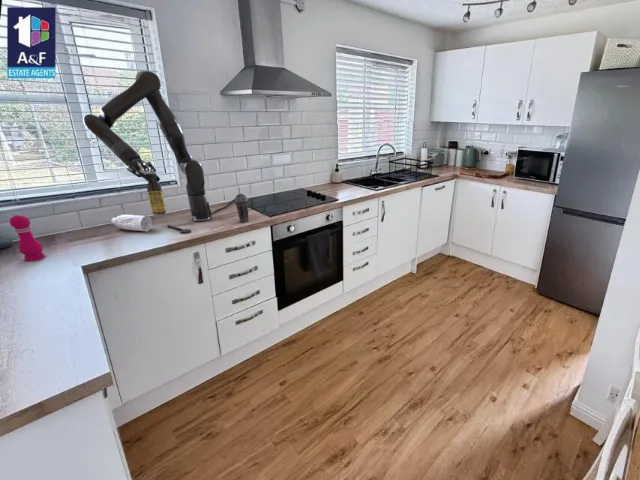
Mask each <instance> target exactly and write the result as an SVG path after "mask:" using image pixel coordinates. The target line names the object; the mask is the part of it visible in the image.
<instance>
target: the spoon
mask: <svg viewBox="0 0 640 480" xmlns="http://www.w3.org/2000/svg"><path fill="white" fill-rule="evenodd" d="M167 228H169V229H174V230H176V231H179V233H180V234H183V235H184V234H189V233H191V232H192V231H191V229H189V228H181V227H178V226H174V225H171V224H167Z"/></svg>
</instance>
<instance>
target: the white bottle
mask: <svg viewBox="0 0 640 480" xmlns="http://www.w3.org/2000/svg"><path fill="white" fill-rule="evenodd" d="M110 223H111V224H112V225H114V226H115V227H116V228H120V229H122V230H123V231H124V230H125V231H135V232H136V231H137V232H149V231H150V230H151V229H152V227H153V224H152V223H153V221H152V218H151V217H150V216H148V215H136V214H120V215H117V216H116V217H113V216H112V218H111V219H110Z"/></svg>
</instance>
